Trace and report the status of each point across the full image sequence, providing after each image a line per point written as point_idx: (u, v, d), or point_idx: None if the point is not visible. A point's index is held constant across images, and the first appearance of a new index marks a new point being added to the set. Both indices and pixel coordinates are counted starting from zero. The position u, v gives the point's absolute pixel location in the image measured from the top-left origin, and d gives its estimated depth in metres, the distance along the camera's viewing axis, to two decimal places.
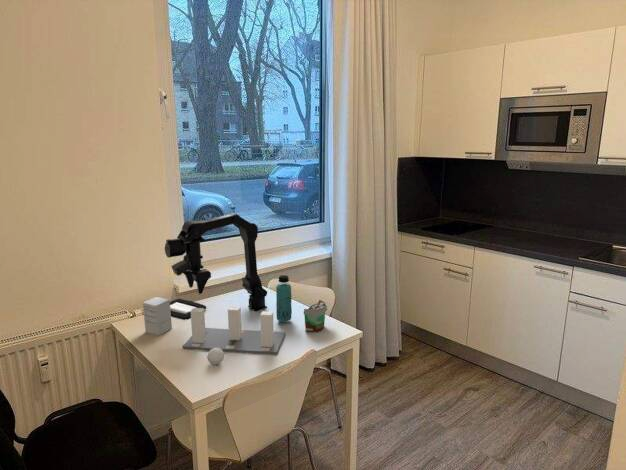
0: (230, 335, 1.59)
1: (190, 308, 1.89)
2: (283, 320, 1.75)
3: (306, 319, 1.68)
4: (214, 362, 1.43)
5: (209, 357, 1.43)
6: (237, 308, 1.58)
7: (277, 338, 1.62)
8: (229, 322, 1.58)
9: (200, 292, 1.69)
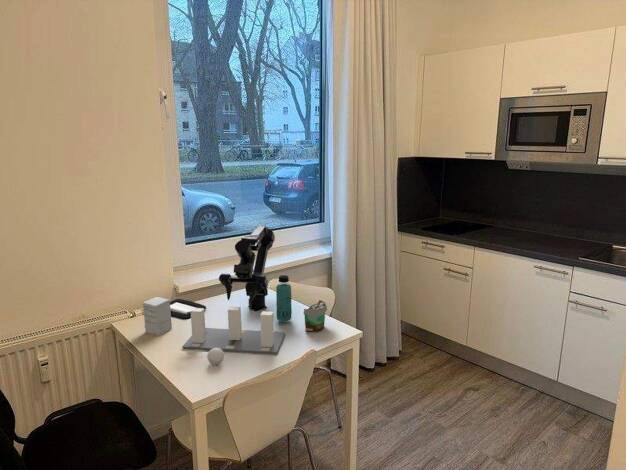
0: (230, 335, 1.59)
1: (190, 308, 1.89)
2: (283, 320, 1.75)
3: (306, 319, 1.68)
4: (214, 362, 1.43)
5: (209, 357, 1.43)
6: (237, 308, 1.58)
7: (277, 338, 1.62)
8: (229, 322, 1.58)
9: (252, 299, 1.66)
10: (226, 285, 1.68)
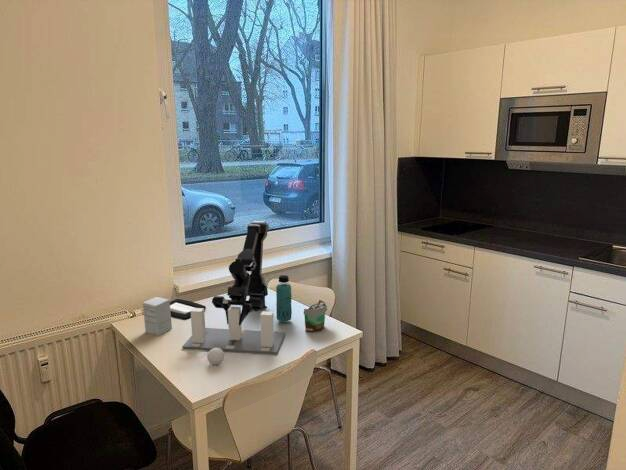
0: (230, 335, 1.59)
1: (189, 308, 1.89)
2: (283, 320, 1.75)
3: (306, 319, 1.68)
4: (214, 362, 1.43)
5: (209, 357, 1.43)
6: (237, 308, 1.58)
7: (277, 338, 1.62)
8: (229, 322, 1.58)
9: (240, 323, 1.58)
10: (226, 309, 1.60)
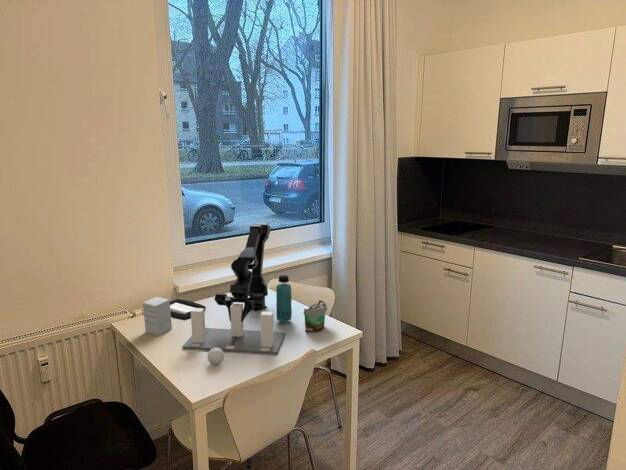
0: (232, 332, 1.62)
1: (189, 308, 1.89)
2: (283, 320, 1.75)
3: (306, 319, 1.68)
4: (214, 362, 1.43)
5: (209, 357, 1.43)
6: (239, 305, 1.61)
7: (277, 338, 1.62)
8: (231, 319, 1.61)
9: (242, 319, 1.61)
10: (228, 306, 1.63)
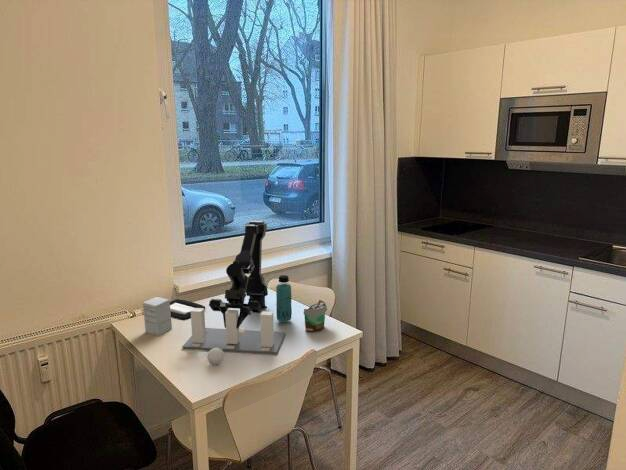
0: (227, 339, 1.57)
1: (189, 308, 1.89)
2: (283, 320, 1.75)
3: (306, 319, 1.68)
4: (214, 362, 1.43)
5: (209, 357, 1.43)
6: (235, 311, 1.55)
7: (277, 338, 1.62)
8: (226, 325, 1.55)
9: (238, 326, 1.56)
10: (223, 312, 1.57)
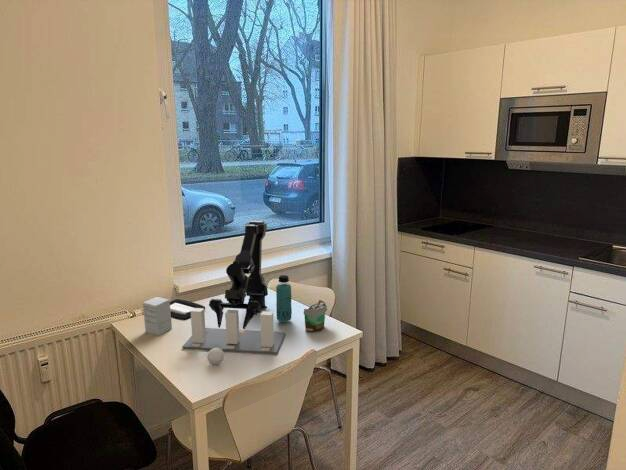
0: (227, 339, 1.57)
1: (189, 308, 1.89)
2: (283, 320, 1.75)
3: (306, 319, 1.68)
4: (214, 362, 1.43)
5: (209, 357, 1.43)
6: (235, 311, 1.55)
7: (277, 338, 1.62)
8: (226, 325, 1.55)
9: (244, 327, 1.55)
10: (217, 311, 1.58)
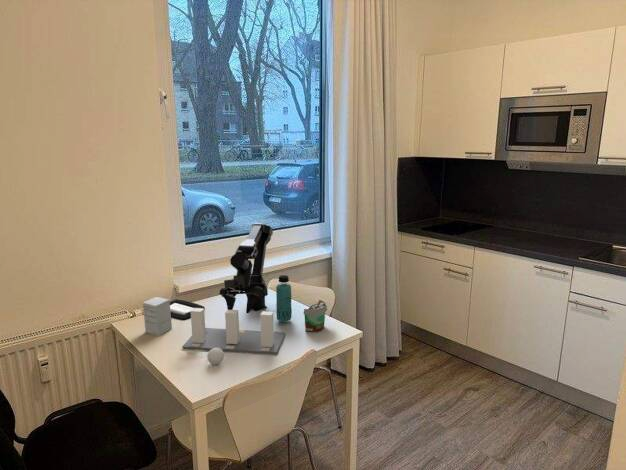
0: (227, 339, 1.57)
1: (188, 309, 1.88)
2: (283, 320, 1.75)
3: (306, 319, 1.68)
4: (214, 362, 1.43)
5: (209, 357, 1.43)
6: (235, 311, 1.55)
7: (277, 338, 1.62)
8: (226, 325, 1.55)
9: (248, 311, 1.64)
10: (226, 299, 1.70)
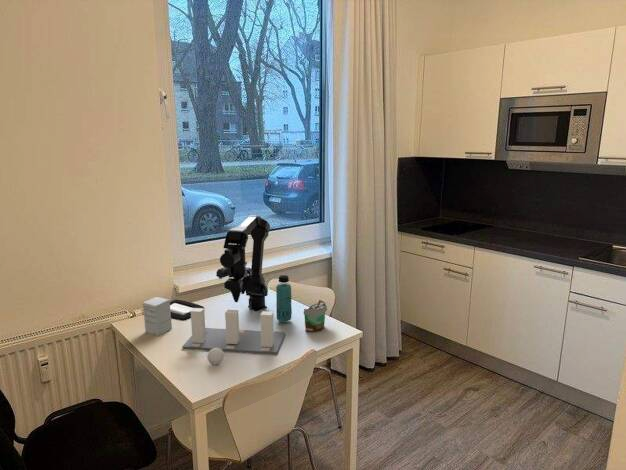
0: (227, 339, 1.57)
1: (188, 309, 1.88)
2: (283, 320, 1.75)
3: (306, 319, 1.68)
4: (214, 362, 1.43)
5: (209, 357, 1.43)
6: (235, 311, 1.55)
7: (277, 338, 1.62)
8: (226, 325, 1.55)
9: (235, 300, 1.68)
10: None
